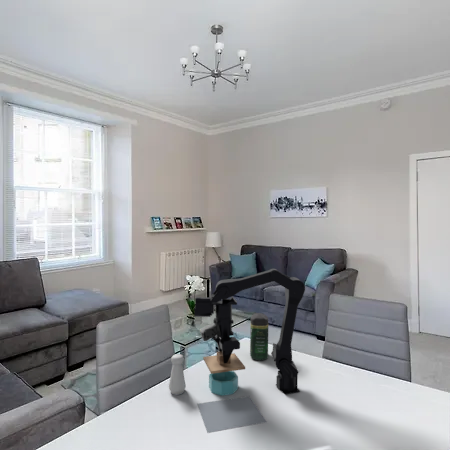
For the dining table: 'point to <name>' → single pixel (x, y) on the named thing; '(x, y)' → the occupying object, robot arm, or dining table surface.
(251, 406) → the mat
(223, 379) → the bowl
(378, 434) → the dining table surface
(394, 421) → the dining table surface
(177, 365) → the salt shaker
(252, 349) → the coffee jar
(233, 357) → the lid
